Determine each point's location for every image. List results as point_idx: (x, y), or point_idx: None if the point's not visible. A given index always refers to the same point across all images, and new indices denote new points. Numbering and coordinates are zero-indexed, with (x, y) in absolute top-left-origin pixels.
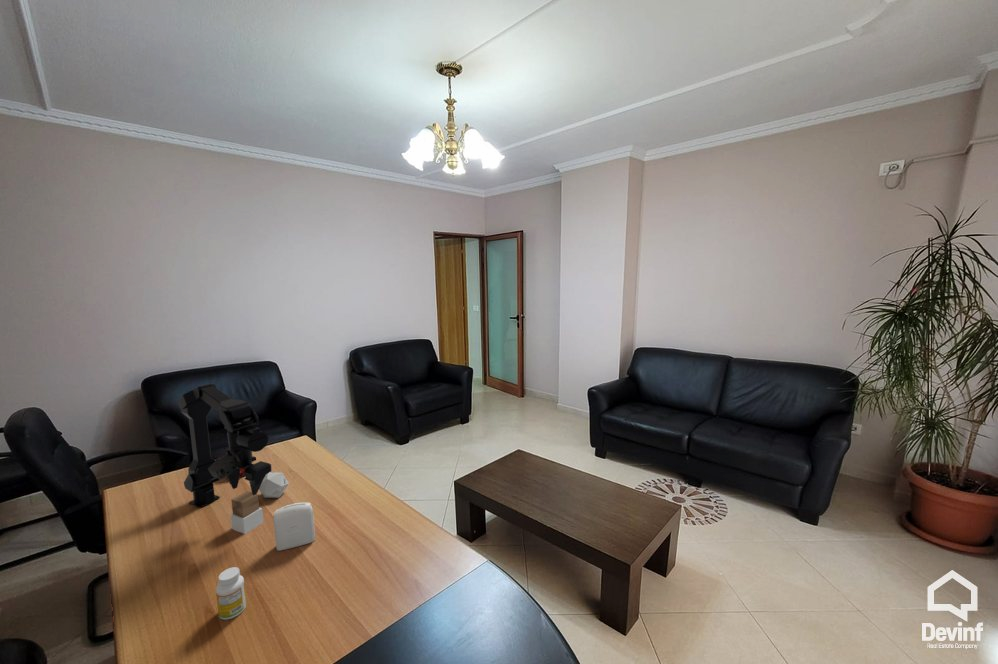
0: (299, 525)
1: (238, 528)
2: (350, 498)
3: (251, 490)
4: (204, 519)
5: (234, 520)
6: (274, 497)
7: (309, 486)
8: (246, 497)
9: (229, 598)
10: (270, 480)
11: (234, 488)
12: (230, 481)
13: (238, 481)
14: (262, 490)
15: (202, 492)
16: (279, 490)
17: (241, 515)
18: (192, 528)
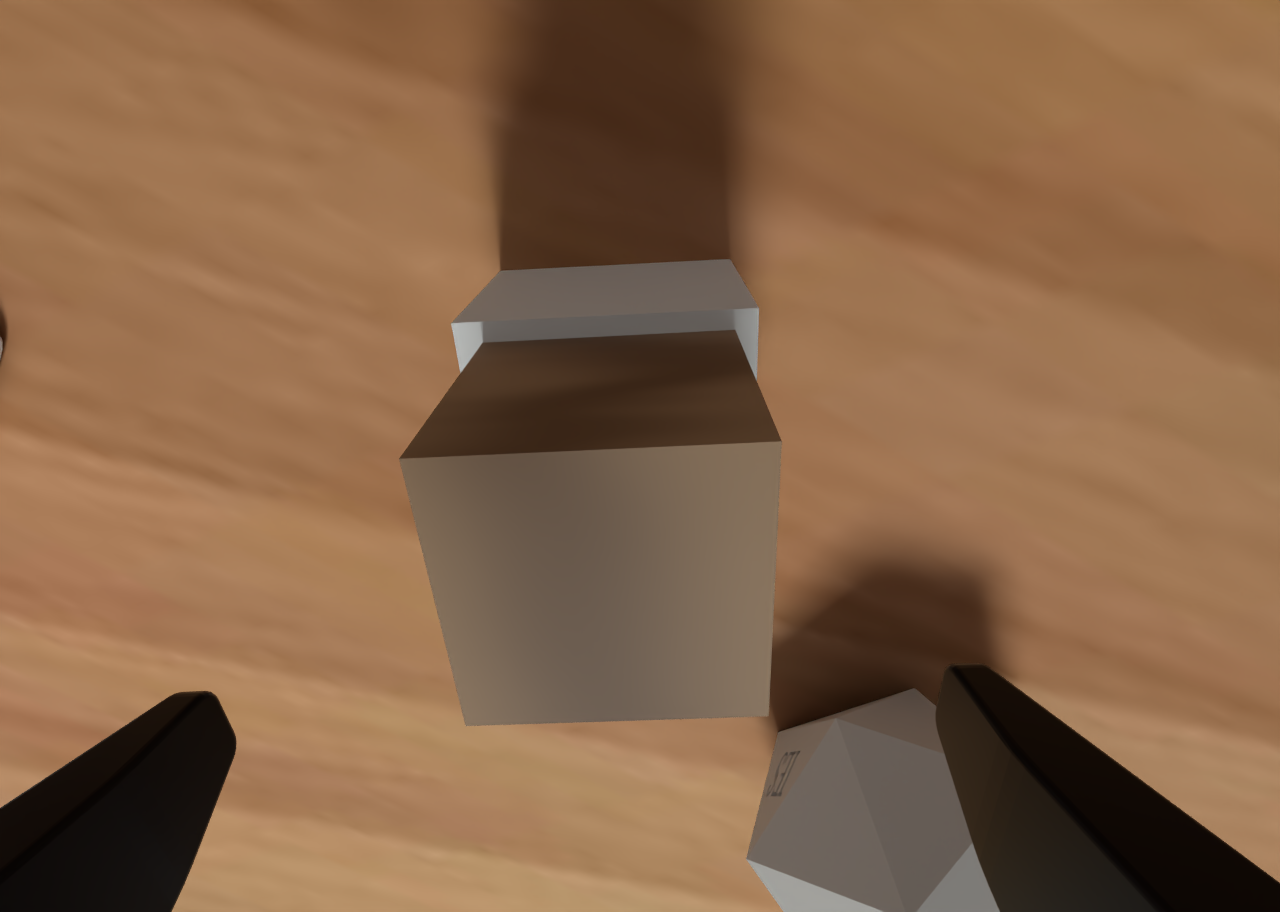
0: None
1: (605, 274)
2: (246, 891)
3: (71, 805)
4: (1253, 216)
5: (673, 293)
6: (817, 719)
7: (683, 882)
8: (543, 601)
9: None
10: (868, 907)
11: (950, 680)
12: (1150, 874)
13: (994, 893)
14: (905, 756)
15: None
16: (764, 803)
17: (520, 350)
18: (1259, 19)
